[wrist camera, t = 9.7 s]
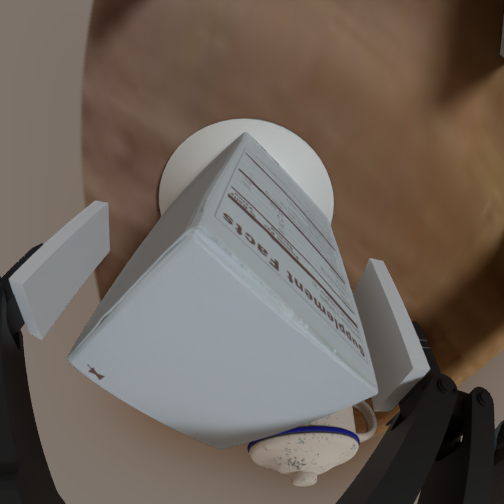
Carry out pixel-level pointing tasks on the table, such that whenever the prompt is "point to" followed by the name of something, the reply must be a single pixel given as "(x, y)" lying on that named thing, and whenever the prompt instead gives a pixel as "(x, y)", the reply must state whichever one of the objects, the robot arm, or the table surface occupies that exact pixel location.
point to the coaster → (269, 137)
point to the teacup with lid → (314, 445)
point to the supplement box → (232, 311)
